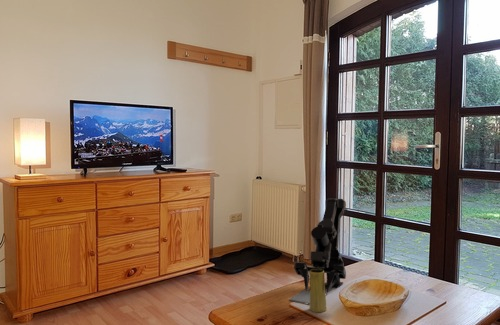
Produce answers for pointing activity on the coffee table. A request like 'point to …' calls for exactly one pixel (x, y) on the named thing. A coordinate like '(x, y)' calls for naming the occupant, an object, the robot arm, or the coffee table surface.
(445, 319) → the coffee table surface
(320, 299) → the vase
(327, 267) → the robot arm
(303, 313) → the coffee table surface
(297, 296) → the mat
